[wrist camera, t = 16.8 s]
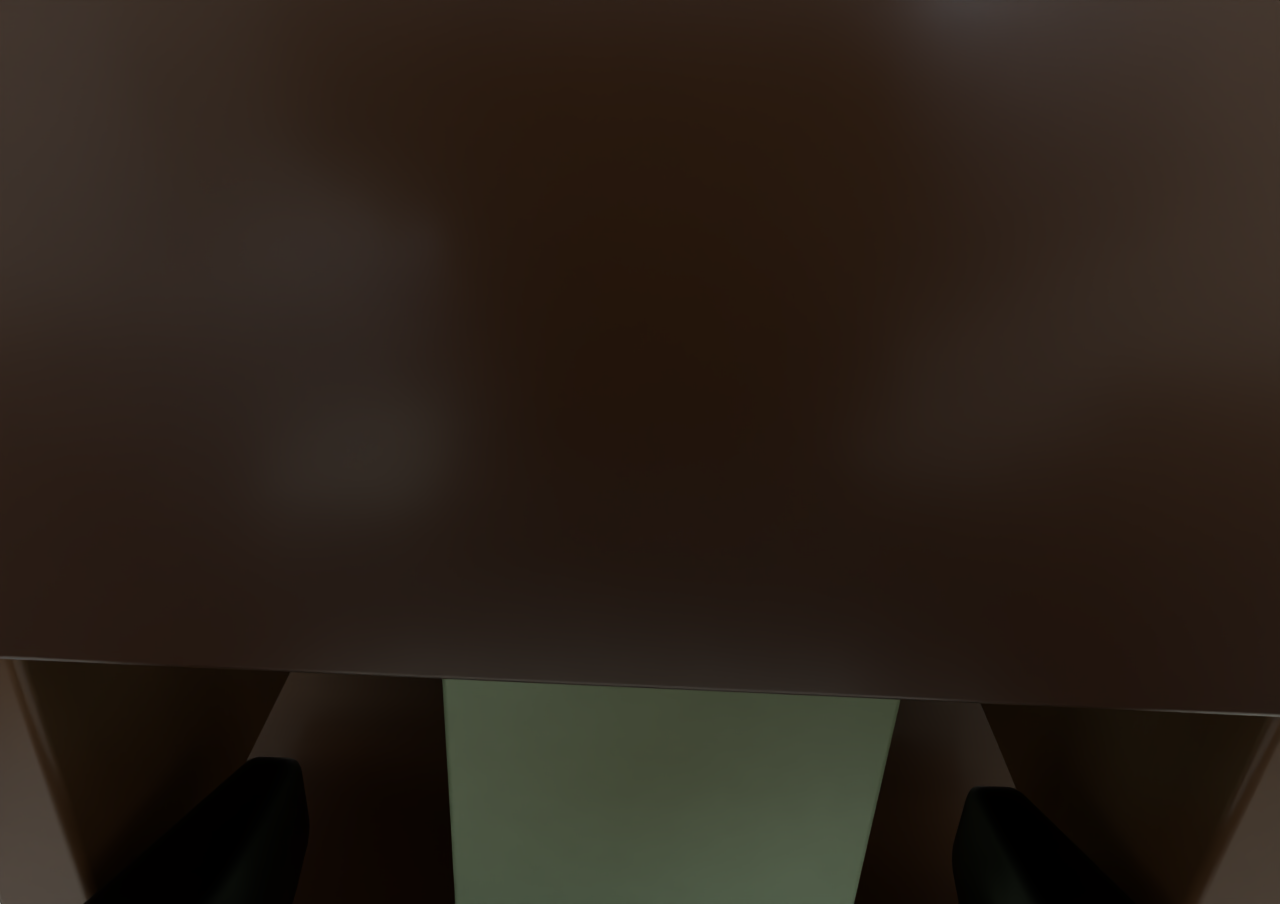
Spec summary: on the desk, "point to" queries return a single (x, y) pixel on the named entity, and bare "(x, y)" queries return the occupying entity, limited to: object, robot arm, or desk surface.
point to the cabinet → (649, 344)
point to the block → (659, 793)
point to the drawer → (419, 795)
